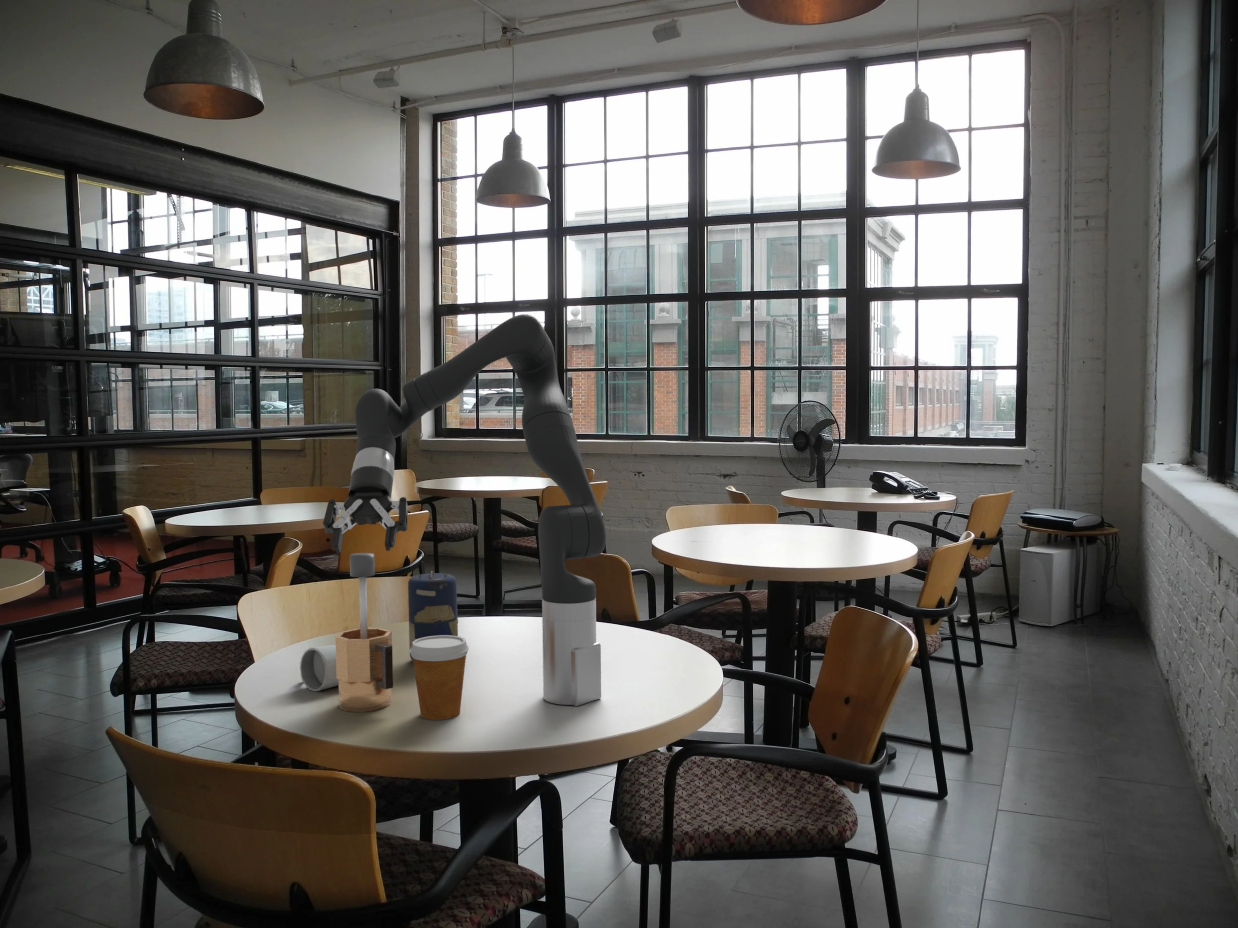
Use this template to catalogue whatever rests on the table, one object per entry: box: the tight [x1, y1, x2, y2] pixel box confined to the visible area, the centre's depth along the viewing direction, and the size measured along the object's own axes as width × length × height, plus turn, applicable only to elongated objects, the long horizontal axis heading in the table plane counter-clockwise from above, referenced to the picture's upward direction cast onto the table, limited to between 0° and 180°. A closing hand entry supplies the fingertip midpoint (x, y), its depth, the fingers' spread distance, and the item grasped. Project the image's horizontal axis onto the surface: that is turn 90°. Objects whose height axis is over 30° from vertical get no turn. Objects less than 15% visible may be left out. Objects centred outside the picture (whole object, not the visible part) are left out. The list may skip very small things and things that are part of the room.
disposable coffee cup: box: [409, 635, 470, 721], centre depth 154 cm, size 10×10×12 cm
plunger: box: [349, 552, 376, 639], centre depth 159 cm, size 4×4×15 cm
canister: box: [407, 570, 459, 661], centre depth 187 cm, size 10×10×18 cm
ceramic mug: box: [299, 643, 339, 692], centre depth 171 cm, size 11×8×8 cm
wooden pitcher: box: [335, 627, 394, 713], centre depth 158 cm, size 11×9×12 cm
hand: (362, 548), depth 162 cm, fingers open, 8 cm apart
